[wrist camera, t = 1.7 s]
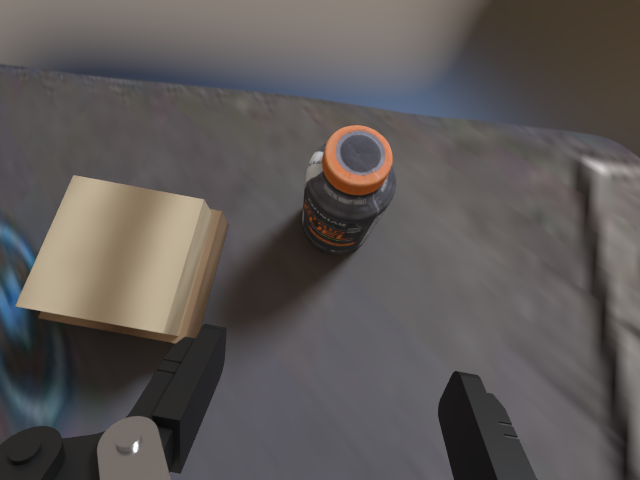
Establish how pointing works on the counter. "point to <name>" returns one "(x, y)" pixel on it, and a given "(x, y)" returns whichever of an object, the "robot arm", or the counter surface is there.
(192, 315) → the tower base
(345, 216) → the pill bottle
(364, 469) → the counter surface
